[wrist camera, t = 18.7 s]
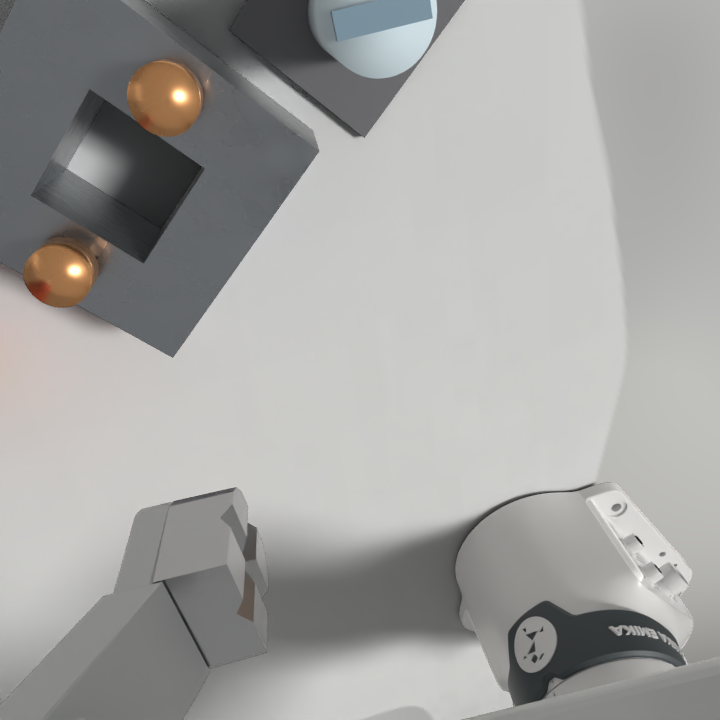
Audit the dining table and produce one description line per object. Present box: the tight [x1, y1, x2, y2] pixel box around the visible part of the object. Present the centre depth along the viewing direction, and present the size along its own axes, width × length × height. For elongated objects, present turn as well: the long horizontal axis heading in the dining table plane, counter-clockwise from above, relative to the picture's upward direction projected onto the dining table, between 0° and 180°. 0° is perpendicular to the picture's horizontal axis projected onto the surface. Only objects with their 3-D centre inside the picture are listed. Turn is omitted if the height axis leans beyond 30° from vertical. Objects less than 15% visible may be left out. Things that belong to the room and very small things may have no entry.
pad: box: [229, 0, 465, 138], centre depth 34 cm, size 9×9×1 cm
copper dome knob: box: [127, 59, 203, 137], centre depth 30 cm, size 3×3×4 cm
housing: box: [0, 0, 319, 358], centre depth 34 cm, size 14×14×6 cm
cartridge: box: [308, 0, 437, 79], centre depth 29 cm, size 4×4×12 cm
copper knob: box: [23, 237, 99, 308], centre depth 33 cm, size 3×3×4 cm
